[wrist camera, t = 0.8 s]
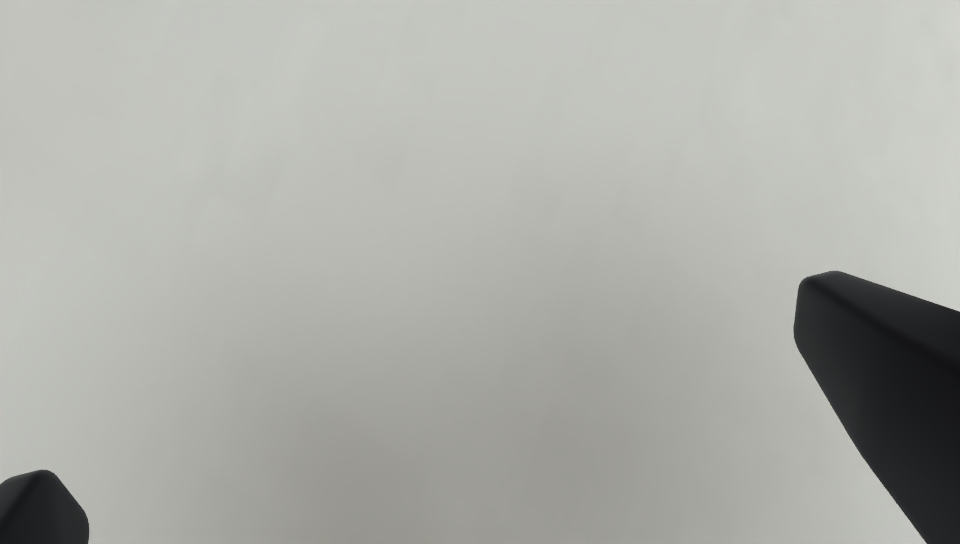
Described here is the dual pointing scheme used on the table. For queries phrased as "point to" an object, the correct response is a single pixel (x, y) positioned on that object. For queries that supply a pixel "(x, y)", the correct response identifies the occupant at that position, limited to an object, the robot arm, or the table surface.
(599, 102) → the table surface
